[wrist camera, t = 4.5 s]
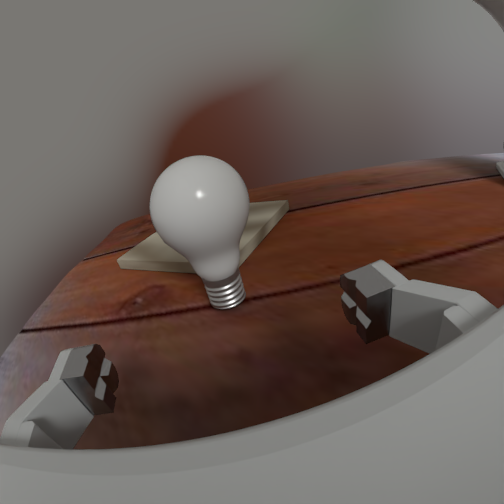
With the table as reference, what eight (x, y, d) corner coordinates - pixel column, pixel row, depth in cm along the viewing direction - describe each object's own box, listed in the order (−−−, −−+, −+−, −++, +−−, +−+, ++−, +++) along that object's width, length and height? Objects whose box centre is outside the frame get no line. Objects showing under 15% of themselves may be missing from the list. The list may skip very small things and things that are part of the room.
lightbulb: (261, 273, 25) (228, 142, 20) (283, 316, 19) (245, 146, 15) (188, 295, 24) (144, 167, 20) (191, 343, 19) (127, 181, 14)
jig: (192, 215, 46) (185, 190, 44) (289, 208, 38) (283, 177, 36) (120, 268, 33) (107, 237, 32) (232, 275, 26) (219, 231, 24)
